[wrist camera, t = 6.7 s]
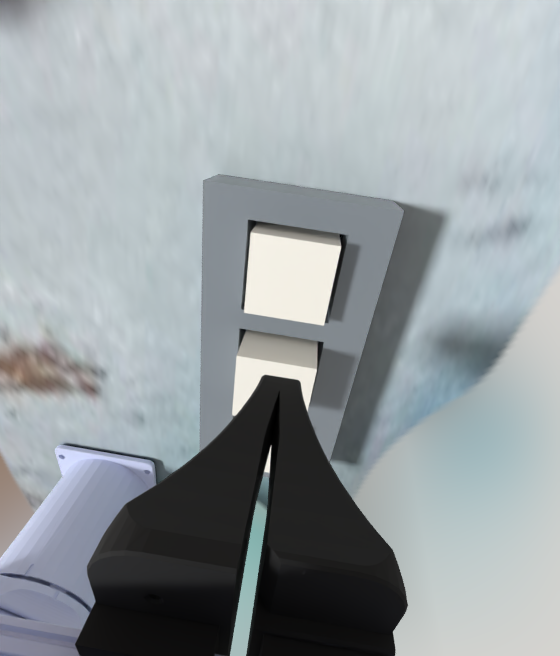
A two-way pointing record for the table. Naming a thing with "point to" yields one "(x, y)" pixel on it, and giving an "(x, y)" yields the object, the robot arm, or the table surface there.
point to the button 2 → (291, 272)
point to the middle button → (273, 363)
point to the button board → (334, 337)
